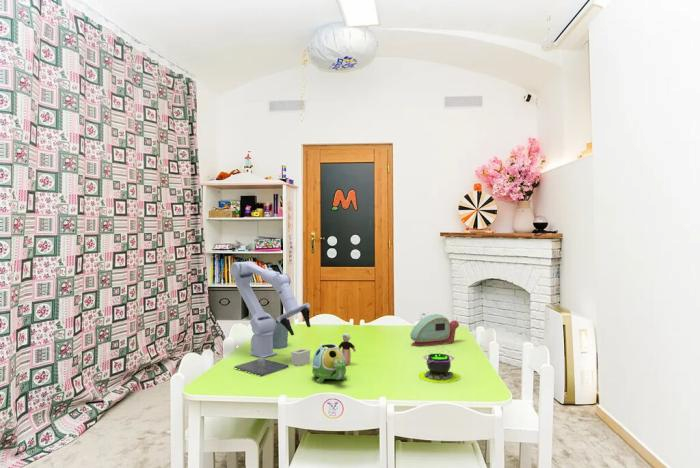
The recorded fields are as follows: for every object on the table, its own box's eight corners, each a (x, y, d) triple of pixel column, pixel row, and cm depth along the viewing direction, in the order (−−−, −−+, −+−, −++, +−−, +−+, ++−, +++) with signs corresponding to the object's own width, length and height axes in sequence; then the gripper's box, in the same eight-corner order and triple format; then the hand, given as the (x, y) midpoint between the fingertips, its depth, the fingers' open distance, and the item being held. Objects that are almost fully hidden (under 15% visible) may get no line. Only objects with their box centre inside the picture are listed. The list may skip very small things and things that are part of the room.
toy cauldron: (431, 368, 181) (430, 340, 181) (466, 375, 171) (466, 346, 171) (410, 378, 169) (410, 348, 169) (447, 386, 160) (447, 354, 160)
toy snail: (414, 347, 213) (414, 317, 213) (407, 343, 220) (407, 314, 220) (462, 343, 220) (462, 314, 220) (454, 339, 227) (454, 311, 227)
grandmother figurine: (336, 365, 186) (336, 333, 186) (338, 362, 189) (337, 331, 189) (355, 365, 185) (355, 334, 184) (356, 363, 188) (356, 332, 188)
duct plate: (234, 368, 182) (234, 358, 182) (261, 360, 193) (261, 351, 193) (261, 376, 172) (261, 365, 172) (288, 367, 183) (288, 357, 183)
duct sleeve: (299, 366, 185) (299, 353, 185) (291, 364, 188) (291, 351, 188) (310, 362, 190) (309, 350, 190) (302, 360, 193) (302, 348, 193)
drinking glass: (263, 348, 214) (263, 322, 214) (273, 343, 223) (273, 318, 223) (283, 349, 211) (283, 323, 211) (292, 344, 220) (292, 319, 220)
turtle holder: (324, 390, 157) (323, 355, 157) (307, 375, 173) (307, 343, 173) (357, 385, 162) (357, 351, 162) (338, 370, 178) (337, 340, 178)
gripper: (269, 307, 190) (281, 338, 186) (300, 292, 188) (313, 322, 184) (276, 309, 196) (288, 338, 192) (306, 294, 195) (318, 323, 191)
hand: (300, 330), depth 189 cm, fingers open, 7 cm apart
